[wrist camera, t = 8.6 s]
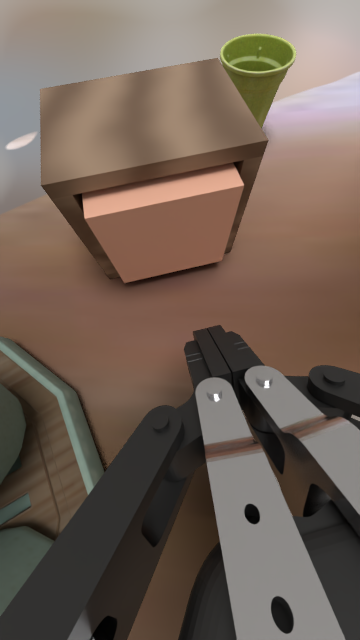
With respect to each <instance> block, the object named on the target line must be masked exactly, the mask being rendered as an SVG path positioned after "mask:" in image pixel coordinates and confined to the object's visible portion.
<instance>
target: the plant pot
mask: <svg viewBox="0 0 360 640" xmlns="http://www.w3.org/2000/svg"><path fill="white" fill-rule="evenodd" d="M295 58H296V50H295V47H294V46H293V45H292V44H291V43H290V42H288V41H286V40H285V39H282V38H280V37H277V36H273V35H267V34H250V35H243V36H239V37H236V38H233V39H232V40H229V41H228V42H227V43H226V44H225V45H224V46H223V47H222V49H221V52H220V59H221V62H222V64H223V67H224V69H225V71H226V72H227V74H228V76H229V77H230V79H231V80H232V82H233V84H234V85H235V87H236V88H237V90H238V92H239V93H240V95H241V97H242V98H243V100H244V101H245V103H246V105H247V106H248V108H249V109H250V111H251V113H252V114H253V116H254V118H255V119H256V121H257V122H258V124H259V126H260V127H261V128H262V126H263V123H264V121H265V118H266V116H267V114H268V111H269V109H270V106H271V104H272V102H273V99H274V97H275V94H276V92H277V90H278V87H279V85H280V83H281V82H282V80H283V79H284V77H285V75H286V73H287V70H288V68H290V66H291V65H292V64H293V62H294V61H295Z"/></svg>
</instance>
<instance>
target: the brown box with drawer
mask: <svg viewBox="0 0 360 640" xmlns="http://www.w3.org/2000/svg"><path fill="white" fill-rule="evenodd" d="M40 116H41V117H40V118H41V119H40V124H41V186H42V187H43V189H44V190H45V191H46V193H47V194H48V196H49V197H50V198H51V200H52V201H53V202H54V204H55V205H56V206H57V208H58V209H59V210H60V212H61V213H62V215H63V216H64V217H65V219H66V220H67V221H68V223H69V224H70V225H71V227H72V228H73V229H74V231H75V232H76V234H77V235H78V236H79V238H80V239H81V240H82V242H83V243H84V244H85V246H86V247H87V249H88V250H89V251H90V253H91V254H92V255H93V257H94V258H95V259H96V261H97V262H98V263H99V265H100V266H101V268H102V269H103V270H104V272H105V273H106V274H107V276H108V277H109V278H110V279H113V278H117V277H120V275H119V273H118V272H117V270H116V269H115V267H114V265H113V264H112V262H111V261H110V259H109V257H108V256H107V254H106V253H105V251H104V249H103V248H102V246H101V244H100V243H99V241H98V240H97V238H96V236H95V235H94V233H93V232H92V230H91V228H90V227H89V225H88V224H87V222H86V220H85V218H84V209H83V199H82V193H85V192H89V191H94V190H99V189H104V188H109V187H114V186H119V185H124V184H129V183H134V182H139V181H144V180H148V179H153V178H158V177H163V176H168V175H173V174H178V173H183V172H188V171H193V170H198V169H203V168H207V167H212V166H217V165H222V164H227V163H232V162H233V163H234V165H235V167H236V169H237V171H238V173H239V175H240V178H241V180H242V182H243V184H244V188H243V191H242V195H241V198H240V201H239V205H238V208H237V212H236V215H235V218H234V222H233V225H232V228H231V232H230V235H229V238H228V242H227V245H226V249H225V252H224V253H227V252H230V251H231V248H232V245H233V242H234V240H235V237H236V234H237V231H238V228H239V225H240V222H241V219H242V216H243V213H244V210H245V207H246V204H247V201H248V199H249V196H250V193H251V190H252V187H253V184H254V181H255V178H256V175H257V172H258V169H259V166H260V163H261V160H262V158H263V155H264V152H265V149H266V146H267V143H268V138H267V137H266V135H265V134H264V132H263V130H262V129H261V127H260V126H259V124H258V122H257V121H256V119H255V118H254V116H253V114H252V113H251V111H250V109H249V108H248V106H247V105H246V103H245V101H244V100H243V98H242V97H241V95H240V93H239V92H238V90H237V88H236V87H235V85H234V84H233V82H232V80H231V79H230V77H229V76H228V74H227V72H226V71H225V69H224V67H223V66H222V64H221V63H220V61H219V59H218V58H215V59H209V60H203V61H197V62H192V63H186V64H180V65H175V66H169V67H163V68H158V69H152V70H146V71H140V72H135V73H129V74H123V75H118V76H112V77H106V78H100V79H95V80H89V81H84V82H78V83H72V84H66V85H60V86H55V87H49V88H44V89H40Z"/></svg>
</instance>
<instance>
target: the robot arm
mask: <svg viewBox="0 0 360 640" xmlns="http://www.w3.org/2000/svg"><path fill="white" fill-rule="evenodd" d="M193 335H194V341H190V342H186V345H185V348H184V351H185V356H186V360H187V365H188V369H189V373H190V377H191V380H192V384H193V388H194V392H193V395H192V396H191V398H190V399H189V400H188V401H187V402H186V403H185V404H183V405H182V406H180V407H178V408H177V409H175V408H174V407H172V406H167V405H163V406H159V407H156V408H154V409H152V410H151V411H150V412H149V413H148V414H147V415H146V416H145V417H144V419H143V420H142V421H141V423H140V424H139V426H138V427H137V428H136V430H135V431H134V433H133V434H132V435H131V437H130V438H129V439H128V441H127V442H126V444H125V445H124V446H123V448H122V449H121V450H120V452H119V453H118V455H117V456H116V457H115V459H114V460H113V461H112V463H111V464H110V466H109V467H108V468H107V470H106V471H105V473H104V474H103V475H102V477H101V478H100V479H99V481H98V482H97V484H96V485H95V486H94V488H93V489H92V490H91V492H90V493H89V495H88V496H87V497H86V499H85V500H84V502H83V503H82V504H81V506H80V507H79V508H78V510H77V511H76V513H75V514H74V515H73V517H72V518H71V519H70V521H69V522H68V524H67V525H66V526H65V528H64V529H63V530H62V532H61V533H60V535H59V536H58V537H57V539H56V540H55V542H54V543H53V544H52V546H51V547H50V548H49V550H48V551H47V553H46V554H45V555H44V557H43V558H42V559H41V561H40V562H39V564H38V565H37V566H36V568H35V569H34V570H33V572H32V573H31V575H30V576H29V577H28V579H27V580H26V582H25V583H24V584H23V586H22V587H21V588H20V590H19V591H18V593H17V594H16V595H15V597H14V598H13V599H12V601H11V602H10V604H9V605H8V606H7V608H6V609H5V611H4V612H3V613H2V615H1V616H0V640H127V638H128V636H129V633H130V631H131V628H132V626H133V623H134V621H135V618H136V616H137V613H138V611H139V608H140V606H141V603H142V601H143V598H144V596H145V593H146V591H147V588H148V586H149V583H150V581H151V578H152V576H153V573H154V571H155V568H156V566H157V564H158V561H159V559H160V556H161V554H162V551H163V549H164V546H165V544H166V541H167V539H168V536H169V534H170V531H171V529H172V526H173V524H174V521H175V519H176V516H177V514H178V511H179V509H180V506H181V504H182V501H183V499H184V496H185V494H186V492H187V489H188V487H189V484H190V482H191V479H192V477H193V474H194V471H195V470H196V469H197V468H198V467H200V466H201V465H202V464H204V463H205V462H207V468H208V474H209V479H210V485H211V491H212V497H213V503H214V509H215V514H216V520H217V526H218V532H219V538H220V542H219V543H218V544H217V545H216V546H215V547H214V548H213V549H212V551H211V552H210V553H209V555H208V556H207V558H206V559H205V561H204V563H203V565H202V567H201V569H200V571H199V573H198V575H197V577H196V580H195V583H194V585H193V588H192V591H191V594H190V598H189V601H188V605H187V609H186V612H185V616H184V620H183V624H182V628H181V631H180V635H179V639H178V640H360V421H358V420H355V419H353V418H351V416H352V414H353V415H355V416H358V417H360V374H359V373H356V372H352V371H349V370H345V369H342V368H338V367H334V366H328V365H321V366H316V367H314V368H312V369H311V370H310V372H309V377H308V376H283V375H282V374H281V373H280V372H279V371H278V370H276V369H274V368H272V367H268V366H265V365H264V364H263V363H262V362H261V360H260V359H259V358H258V357H257V356H256V354H255V353H254V352H253V351H252V350H251V348H250V347H248V345H247V344H246V342H244V340H243V339H242V338H241V336H240V335H238V334H236V333H234V332H232V331H231V332H227V333H226V332H225V331H224V329H223V328H222V327H221V325H217V326H213V327H209V328H207V329H206V328H205V329H201V330H197V331H193ZM242 410H243V411H244V413H245V415H246V420H247V422H246V420H245V417H244V415H243V412H242ZM252 436H253V437H252ZM253 438H254V439H255V440H254V439H253ZM272 470H273V471H272ZM273 472H274V474H275V476H276V478H277V480H278V482H279V484H280V487H281V490H280V488H279V485H278V483H277V480H276V478H275V476H274V474H273ZM281 491H282V492H281ZM290 511H291V513H292V515H293V516H292V515H291V513H290Z"/></svg>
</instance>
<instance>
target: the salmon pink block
mask: <svg viewBox="0 0 360 640" xmlns="http://www.w3.org/2000/svg"><path fill="white" fill-rule="evenodd" d="M243 188H244V184H243V182H242V180H241V178H240V175H239V173H238V171H237V169H236V167H235V165H234V163H233V162H232V163H227V164H222V165H217V166H212V167H207V168H203V169H198V170H193V171H188V172H183V173H178V174H173V175H168V176H163V177H158V178H153V179H148V180H144V181H139V182H134V183H129V184H124V185H119V186H114V187H109V188H104V189H99V190H94V191H89V192H85V193H82V199H83V209H84V218H85V220H86V222H87V224H88V225H89V227H90V228H91V230H92V232H93V233H94V235H95V236H96V238H97V240H98V241H99V243H100V244H101V246H102V248H103V249H104V251H105V253H106V254H107V256H108V257H109V259H110V261H111V262H112V264H113V265H114V267H115V269H116V270H117V272H118V273H119V275H120V277H121V278H122V280H123V282H124V283H127V282H131V281H136V280H140V279H144V278H149V277H153V276H158V275H162V274H166V273H171V272H175V271H179V270H184V269H188V268H192V267H197V266H201V265H206V264H210V263H214V262H219V261H222V259H223V255H224V252H225V249H226V245H227V242H228V238H229V235H230V232H231V228H232V225H233V222H234V218H235V215H236V212H237V208H238V205H239V201H240V198H241V195H242V191H243Z"/></svg>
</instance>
